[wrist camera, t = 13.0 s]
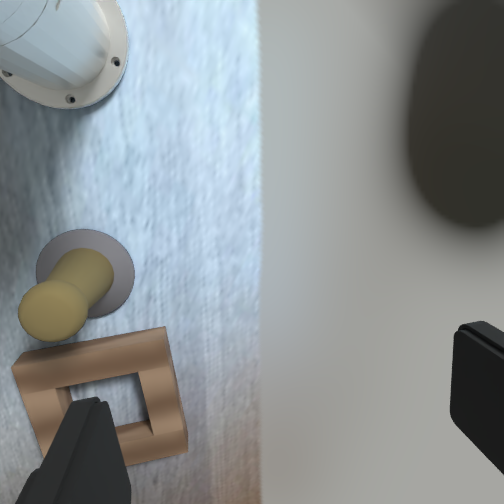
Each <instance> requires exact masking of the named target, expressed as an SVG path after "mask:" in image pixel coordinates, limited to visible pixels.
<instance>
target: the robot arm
mask: <svg viewBox="0 0 504 504" xmlns="http://www.w3.org/2000/svg"><path fill="white" fill-rule="evenodd" d="M128 54H129V39H128V30H127V26H126V23H125V19H124V16H123V14H122V12H121V9H120V7H119V5H118V3H117V1H116V0H0V77H1V78H2V79H3V80H4V81H5V82H6V83H7V84H8V85H9V86H11V87H12V88H13V89H14V90H15V91H16V92H18V93H20V94H21V95H23V96H24V97H26V98H28V99H29V100H32V101H34V102H37V103H39V104H41V105H45V106H48V107H52V108H59V109H80V108H83V107H87V106H91V105H93V104H95V103H97V102H99V101H101V100H102V99H104V98H105V97H106V96H107V95H109V94H110V93H111V92H112V91H113V90H114V88H115V87H116V86H117V85H118V83H119V82H120V80H121V78H122V76H123V74H124V72H125V68H126V65H127V61H128ZM116 61H118V62H120V65H119V66H118V67H117V66H115V62H116ZM9 73H11V74H13V75H12V76H10V75H9ZM73 97H74V98H75V102H74V103H72V102H71V98H73ZM450 415H451V418H452V420H453V422H454V423H455V424H456V426H457V427H458V428H459V429H460V430H461V431H462V432H463V433H464V434H465V435H466V436H467V437H468V438H469V439H470V440H471V441H472V442H473V443H474V444H475V446H477V448H478V449H479V450H480V451H481V452H482V453H483V454H484V455H485V456H486V457H487V458H488V459H489V460H490V461H491V462H492V463H493V464H494V465H495V466H496V467H497V468H498V469H499V470H500V471H501V472H502V473H503V474H504V332H502V331H501V330H499V329H497V328H495V327H494V326H492V325H490V324H489V323H487V322H484V321H477V322H472V323H467V324H462V325H461V326H460V327H459V328H458V331H456V332H455V334H454V345H453V361H452V379H451V397H450ZM15 504H131V485H130V480H129V477H128V473H127V470H126V466H125V462H124V459H123V455H122V451H121V448H120V444H119V441H118V437H117V433H116V430H115V426H114V422H113V419H112V415H111V412H110V408H109V405H108V403H107V401H103V402H100V399H99V398H98V397H92V398H87V399H82V400H77V401H73V402H71V404H70V405H69V407H68V410H67V412H66V414H65V416H64V418H63V420H62V422H61V424H60V426H59V429H58V431H57V433H56V435H55V437H54V439H53V441H52V443H51V445H50V447H49V450H48V452H47V454H46V456H45V458H44V460H43V462H42V464H41V466H40V468H39V469H36V470H34V471H33V472H32V473H31V474H30V476H29V478H28V479H27V481H26V483H25V485H24V487H23V489H22V491H21V493H20V495H19V497H18V499H17V501H16V503H15Z"/></svg>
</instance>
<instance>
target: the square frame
mask: <svg viewBox="0 0 504 504" xmlns="http://www.w3.org/2000/svg"><path fill="white" fill-rule="evenodd" d="M11 369H12V372H13V375H14V377H15V380H16V383H17V386H18V388H19V391H20V394H21V396H22V399H23V402H24V405H25V407H26V410H27V413H28V416H29V418H30V421H31V424H32V427H33V429H34V432H35V435H36V437H37V440H38V443H39V446H40V448H41V451H42V454H43V457H44V458H45V456H46V454H47V452H48V450H49V447H50V445H51V443H52V441H53V439H54V437H55V435H56V433H57V431H58V429H59V426H60V424H61V422H62V420H63V418H64V416H65V414H66V412H67V410H68V407H69V405H70V404H71V402H73V400H72V397H71V393H70V390H69V387H68V386H70V385H75V384H80V383H85V382H90V381H95V380H100V379H105V378H110V377H115V376H120V375H125V374H130V373H136V372H138V373H139V378H140V382H141V386H142V390H143V394H144V398H145V402H146V406H147V410H148V414H149V418H150V420H145V421H140V422H136V423H131V424H126V425H122V426H117V427H115V430H116V433H117V437H118V441H119V444H120V448H121V451H122V455H123V459H124V462H125V466H129V465H134V464H138V463H142V462H147V461H151V460H156V459H160V458H164V457H169V456H173V455H178V454H182V453H186V452H188V431H187V426H186V422H185V417H184V412H183V407H182V403H181V398H180V393H179V389H178V384H177V379H176V374H175V370H174V365H173V360H172V356H171V351H170V346H169V341H168V337H167V332H166V327H165V326H164V327H159V328H153V329H148V330H142V331H137V332H132V333H126V334H121V335H115V336H110V337H104V338H99V339H93V340H88V341H83V342H77V343H72V344H66V345H61V346H55V347H50V348H44V349H39V350H34V351H28V352H23V353H22V355H21V356H20V357H19V358H18V360H17V361H16V362H15V363H14V364H13V366H12V367H11Z"/></svg>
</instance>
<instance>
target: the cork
mask: <svg viewBox="0 0 504 504" xmlns="http://www.w3.org/2000/svg"><path fill="white" fill-rule="evenodd" d="M113 282H114V271H113V267H112V265H111V263H110V262H109V260H108V259H107V258H106V257H105V256H104V255H102V254H101V253H100V252H98V251H95V250H93V249H88V248H78V249H72V250H71V251H69V252H67V253H65V254H64V255H63V256H62V257H61V258H60V259H59V260H58V262H57V263H56V265H55V267H54V268H53V270H52V271H51V273H50V275H49V276H48V278H47V279H46V281H45V282H41V283H39V284H38V285H36V286H34V287H32V288H31V289H30V290H29V291H28V292H27V293H26V294H25V295H24V296H23V298H22V300H21V303H20V305H19V307H18V318H19V321H20V323H21V326H22V327H23V329H24V330H25V331H26V332H27V333H28V334H29V335H31V336H32V337H34V338H35V339H38V340H41V341H47V342H57V341H62V340H66V339H68V338H69V337H71V336H73V335H75V334H76V333H77V332H78V331H79V330H80V329H81V328H82V327H83V325H84V323H85V321H86V319H87V316H88V309H89V308H91V307H92V306H93V305H94V304H95V303H96V302H97V301H98V300H99V299H100V298H101V297H103V296H104V295H105V294H106V293H107V292H108V291H109V290H110V288H111V286H112V284H113Z"/></svg>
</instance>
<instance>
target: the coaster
mask: <svg viewBox="0 0 504 504" xmlns="http://www.w3.org/2000/svg"><path fill="white" fill-rule="evenodd" d="M78 248H88V249H93V250H95V251H98V252H100V253H101V254H102V255H104V256H105V257H106V258H107V259H108V260H109V262H110V263H111V265H112V267H113V271H114V282H113V284H112V286H111V288H110V290H109V291H108V292H107V293H106V294H105V295H104V296H103V297H101V298H100V299H99V300H98V301H97V302H96V303H95V304H94V305H93V306H92V307H91V308H89V309H88V316H87V317H98V316H102V315H105V314H108V313H110V312H112V311H114V310H115V309H117V308H118V307H120V306H121V305H122V304H123V303H124V302H125V300H126V299H127V298H128V296H129V295H130V292H131V290H132V288H133V284H134V279H135V270H134V265H133V262H132V259H131V257H130V255H129V253H128V252H127V250H126V249H125V248H124V247H123V246H122V245H121V244H120V243H119V242H118V241H117V240H115V239H114V238H113V237H111V236H109V235H107V234H105V233H102V232H99V231H95V230H89V229H79V230H72V231H68V232H65V233H63V234H61V235H59V236H57V237H56V238H54V239H53V240H51V241H50V242H49V243H48V244H47V245H46V246H45V247H44V249H43V250H42V252H41V253H40V255H39V258H38V260H37V265H36V278H37V282H38V284H39V283H41V282H45V281H46V279H47V278H48V276H49V275H50V273H51V271H52V270H53V268H54V267H55V265H56V263H57V262H58V260H59V259H60V258H61V257H62V256H63V255H64V254H65V253H67V252H69V251H71V250H72V249H78Z"/></svg>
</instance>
